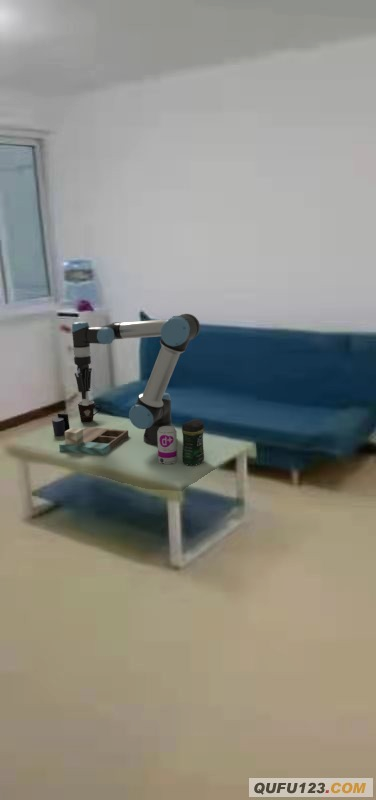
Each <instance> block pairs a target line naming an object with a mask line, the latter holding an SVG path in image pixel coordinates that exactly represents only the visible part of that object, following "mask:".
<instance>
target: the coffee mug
mask: <svg viewBox="0 0 376 800" xmlns="http://www.w3.org/2000/svg"><path fill="white" fill-rule="evenodd" d="M96 406H99V407H100V408H99V410H97V411H96V412H94V411H95V407H96ZM77 407H78V412H79V413H78V414H79V419H80V423H81V422H82V423H84V422H88V423H92V422H93V421H94V416H95V415H96V414H98V413H99V412H101V410H102V405H101V404H100V403H95V401H93V400H89V405H88V406H84V405H82V400H81V401H79V402H77Z"/></svg>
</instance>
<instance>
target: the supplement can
mask: <svg viewBox="0 0 376 800" xmlns="http://www.w3.org/2000/svg"><path fill="white" fill-rule="evenodd" d="M177 431H178V430H176V427H175V426H173V425H172V426H162V427H160V428H159V429H158V431H157V437H158V444H157V459H158V460H157V461H158V462H159V463H160V464H162V463H164V464H163V465H172V464H171V463H173V464H175V463H176V462H177V461H178V441H177V440H178V436H177V435H178V434H177V433H178V432H177ZM174 462H175V463H174Z"/></svg>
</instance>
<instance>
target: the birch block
mask: <svg viewBox="0 0 376 800" xmlns="http://www.w3.org/2000/svg"><path fill="white" fill-rule="evenodd" d="M83 429H84V428H76V427H75V428H73V427H70V429H68V430H67V431H65V434H64V441H65V444H67V445H79V444H80V443H82V442H83Z"/></svg>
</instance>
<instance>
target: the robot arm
mask: <svg viewBox="0 0 376 800" xmlns="http://www.w3.org/2000/svg"><path fill="white" fill-rule="evenodd" d="M89 325H90V324H89V322H88V321H75V322H73V323H72V325H71V330H72V331H71V333H72V334H71V335H72V343H73V355H74V356H73V360H74V365H75V366H77V367H76V372H74V377H75V381H76V385H77V389H78V392H79V393H81V401H82V405H84V406H88V405H89V401H90V400H89V392H90V391H91V383H92V372H93V371H92V370H93V369H92V368H93V367H90V365H91V364H92V360H91V359H92V358H91V345H90V344H97V345H110V344H112V343H113V341H115V340H124V339H138V338H141V339H142V338H154V337H156V338H157V337H160V340H159V343H160V345H161V346H160V347H161V348H160V349H159V352H158V355H157V358H156V360H155V363H154V365H153V367H152V371H151V372H150V373H151V374H150V375H149V376H150V377H149V378H148V381H147V383H146V386H145V388H144V391H143V392H142V393H139V395H138V397H137V399H136V403H135V404H134V405H132V406H131V408H130V410H129V411H128V418H129V420H130V423H131V424H132V425H133V427H135V428H137V429H138V430H144V433H143V442H145V443H146V444H150V445H158V437H157V431H158V429H159V428H160V427H162V426H173V425H172V399H171V394H170V393H168V392H166V389H167V388H168V385H169V382H170V380H171V377H172V375H173V372H174V370H175V367H176V365H177V362H178V360H179V358H180V355H181V354H182V353H185V352H186V350H187V347H188V346H189V345H188V344H189V343H190V341H191V340H194V339H195V338H196V337H197V336H198V335H199V333H200V329H201V324H200V321H199V320H198V318H197V317H196V316H194V315H193V314H190V313H184V314H179V315H173V316H171V317H169V318H162V319H152V320H139V321H128V322H127V321H124V322H112V323H109V324H106V325H101V326H89Z"/></svg>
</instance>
